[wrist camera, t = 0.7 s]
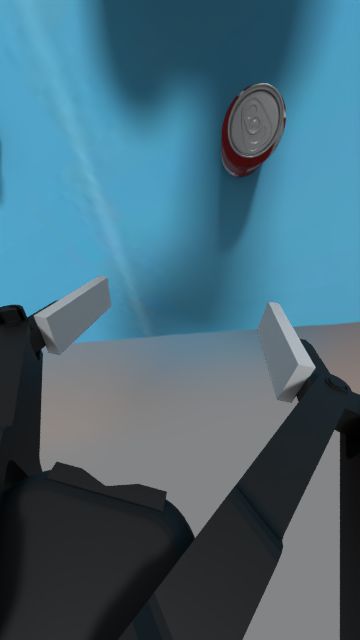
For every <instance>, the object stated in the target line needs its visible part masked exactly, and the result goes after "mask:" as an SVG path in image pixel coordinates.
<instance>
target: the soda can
mask: <svg viewBox="0 0 360 640" xmlns="http://www.w3.org/2000/svg"><path fill="white" fill-rule="evenodd" d="M285 121H286V109H285V104H284V101H283V98H282V96H281V94H280V93H279V91H278V90H277V89H276V88H275V87H274V86H272V85H270V84H267V83H258V84H254V85H251V86H249V87H247V88H246V89H244V90H243V91H242V92H240V93H239V94H238V95H237V96H236V98H235V99H234V100H233V102H232V103H231V105H230V106H229V108H228V110H227V113H226V115H225V118H224V122H223V127H222V144H221V158H222V163H223V166H224V168H225V169H226V171H227V172H228V173H229V174H231V175H233V176H235V177H244V176H247V175H249V174H251V173H252V172H254V171H255V170H256V169H257V168H258V167H259V166H260V165H261V164H262V163H263V162H264V161H265V160H266V159H267V158H268V157H269V156H270V155H271V154H272V153H273V151H274V150H275V149H276V147H277V145H278V144H279V142H280V140H281V137H282V135H283V131H284V128H285Z"/></svg>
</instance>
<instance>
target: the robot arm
mask: <svg viewBox="0 0 360 640" xmlns="http://www.w3.org/2000/svg"><path fill="white" fill-rule="evenodd" d="M110 307H111V300H110V292H109V285H108V277H103V276H98V277H96V278H95V279H93V280H92V281H90V282H88V283H87V284H85V285H83V286H82V287H80V288H78V289H77V290H75V291H73V292H72V293H70V294H68V295H67V296H65V297H64V298H62V299H60V300H57V301H54V302H53V303H51V304H49V305H48V306H46V307H44V308H43V309H41V310H39V311H37V312H36V313H34V314H32V315H31V316H29V317H27V316H26V314H25V311H24V309H23V307H22V306H20V305H8V306H3V307H0V640H242V639H243V637H244V635H245V633H246V631H247V628H248V626H249V624H250V622H251V620H252V617H253V615H254V613H255V611H256V609H257V607H258V604H259V602H260V600H261V598H262V596H263V594H264V592H265V589H266V587H267V585H268V583H269V581H270V579H271V576H272V574H273V572H274V570H275V568H276V566H277V563H278V561H279V558H280V556H281V553H282V549H283V543H282V539H283V536H284V533H285V531H286V529H287V527H288V525H289V523H290V521H291V519H292V516H293V514H294V512H295V510H296V508H297V506H298V504H299V502H300V500H301V497H302V496H303V494H304V491H305V489H306V487H307V485H308V483H309V481H310V479H311V477H312V475H313V473H314V471H315V469H316V466H317V465H318V463H319V461H320V458H321V456H322V454H323V452H324V450H325V448H326V446H327V444H328V442H329V440H330V438H331V436H332V434H333V432H334V430H337V431H338V432H340V640H360V395H359V394H356V393H354V392H352V391H351V389H350V387H349V386H348V385H347V384H346V383H345V382H344V381H343V380H341V379H340V378H338V377H336V376H334V375H332V374H330V373H329V371H328V369H327V368H326V366H325V365H324V363H323V362H322V360H321V359H320V358H319V356H318V354H317V353H316V351H315V349H314V348H313V346H312V345H311V344H309V343H308V342H307V341H306V340H303V339H299V338H298V336H297V334H296V333H295V331H294V329H293V327H292V326H291V324H290V322H289V320H288V319H287V317H286V315H285V313H284V312H283V310H282V308H281V307H280V305H279V303H273V302H268V304H267V306H266V309H265V312H264V314H263V317H262V319H261V322H260V325H259V327H258V330H257V332H258V335H259V339H260V342H261V346H262V349H263V353H264V356H265V360H266V363H267V367H268V370H269V374H270V377H271V380H272V384H273V388H274V391H275V394H276V398H277V400H281V401H286V402H291V403H292V401H293V400H294V398H295V397H296V396H297V399H298V401H299V402H298V404H297V405H296V406H295V408H294V409H293V411H292V412H291V413H290V414H289V416H288V417H287V418H286V420H285V421H284V423H283V424H282V425H281V426H280V428H279V429H278V430H277V432H276V433H275V434H274V436H273V437H272V438H271V440H270V441H269V442H268V444H267V445H266V446H265V448H264V449H263V450H262V451H261V453H260V454H259V455H258V457H257V458H256V459H255V461H254V462H253V463H252V465H251V466H250V467H249V469H248V470H247V471H246V473H245V474H244V475H243V477H242V478H241V479H240V480H239V482H238V483H237V484H236V486H235V487H234V488H233V489H232V491H231V492H230V493H229V495H228V496H227V497H226V498H225V500H224V501H223V502H222V504H221V505H220V506H219V508H218V509H217V510H216V512H215V513H214V514H213V516H212V517H211V518H210V520H209V521H208V522H207V524H206V525H205V526H204V528H203V529H202V530H201V532H200V533H199V534H198V536H197V537H196V538H195V537H194V535H193V532H192V530H191V528H190V526H189V524H188V523H187V521H186V520H185V518H184V516H183V515H182V514H181V513H180V512H179V510H178V509H177V508H176V507H175V506H174V505H173V504H172V503H170V502H169V501H167V500H166V493H167V492H166V491H162V490H158V489H155V488H151V487H148V486H144V485H140V484H132V485H117V486H105V485H103V484H102V483H101V482H99V481H98V480H97V479H95V478H94V477H92V476H91V475H90V474H89V473H87V472H86V471H85V470H83V469H82V468H78V467H74V466H70V465H67V464H63V463H60V462H56V463H55V465H54V467H53V468H52V470H48V471H44V472H42V469H41V465H40V460H39V449H40V419H41V389H42V362H43V353H42V351H41V349H42V348H43V347H44V346H46V347H47V350H48V352H49V353H53V354H57V355H60V354H61V353H62V352H63V351H64V350H66V349H67V347H69V346H70V345H71V344H72V343H73V342H74V341H75V340H76V339H77V338H78V337H79V336H80V335H81V334H82V333H83V332H84V331H86V330H87V329H88V328H89V327H90V326H91V325H92V324H93V323H94V322H95V321H96V320H97V319H98V318H99V317H100V316H101V315H102V314H103V313H104V312H105V311H107V310H108V309H109V308H110Z"/></svg>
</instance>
